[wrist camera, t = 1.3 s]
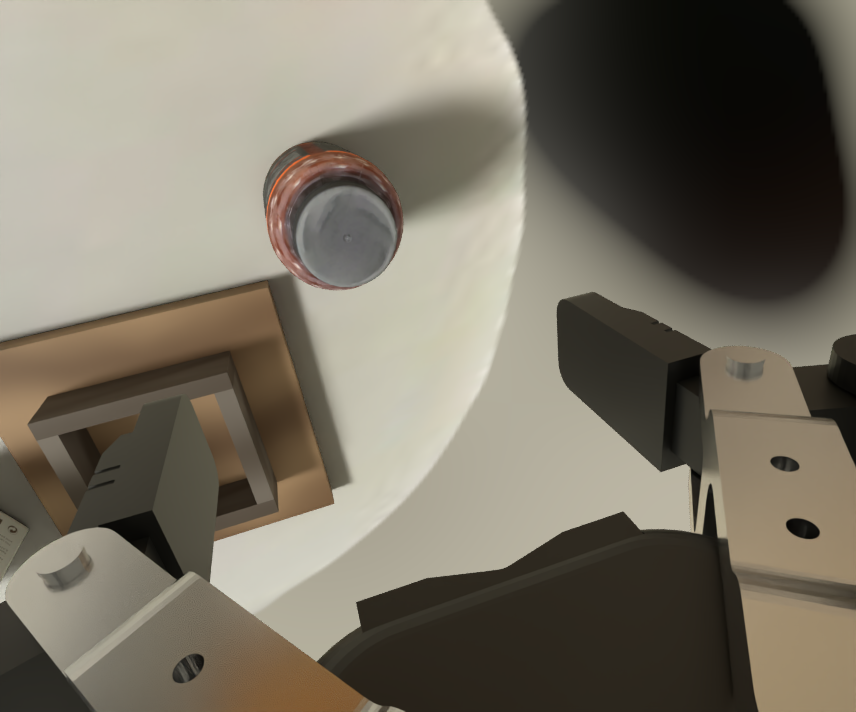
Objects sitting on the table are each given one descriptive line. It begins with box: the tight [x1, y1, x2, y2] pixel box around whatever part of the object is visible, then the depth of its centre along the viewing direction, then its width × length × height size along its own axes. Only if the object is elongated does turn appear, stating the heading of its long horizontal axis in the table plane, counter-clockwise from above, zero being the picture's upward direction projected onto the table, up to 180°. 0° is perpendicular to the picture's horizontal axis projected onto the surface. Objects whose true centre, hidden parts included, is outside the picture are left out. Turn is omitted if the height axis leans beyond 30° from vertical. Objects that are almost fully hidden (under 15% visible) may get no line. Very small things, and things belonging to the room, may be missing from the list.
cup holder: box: [0, 280, 334, 541], centre depth 32 cm, size 16×16×4 cm
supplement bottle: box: [263, 142, 403, 290], centre depth 26 cm, size 6×6×11 cm
